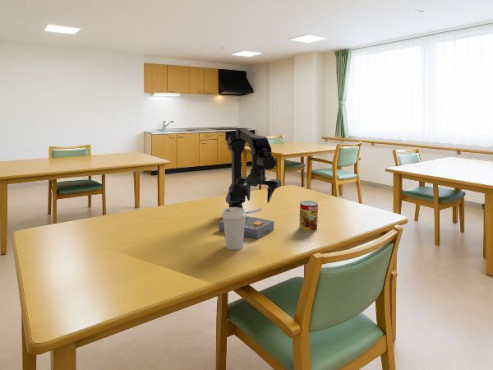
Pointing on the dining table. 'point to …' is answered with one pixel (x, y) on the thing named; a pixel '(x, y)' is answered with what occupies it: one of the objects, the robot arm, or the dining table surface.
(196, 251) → the dining table surface
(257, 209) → the steel strap
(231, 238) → the coffee cup
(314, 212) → the canned food
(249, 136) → the robot arm
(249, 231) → the silver metal tray
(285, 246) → the dining table surface
